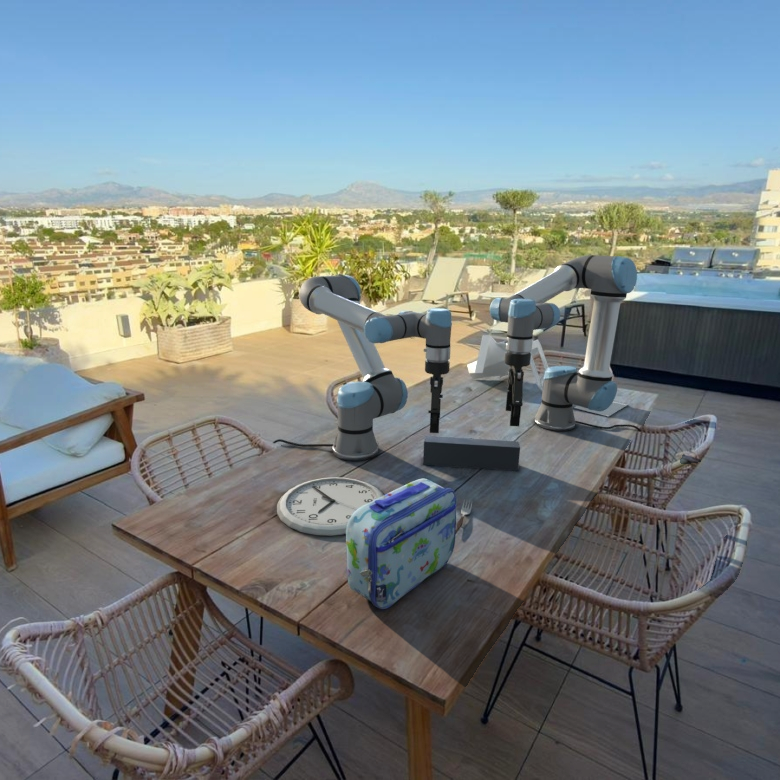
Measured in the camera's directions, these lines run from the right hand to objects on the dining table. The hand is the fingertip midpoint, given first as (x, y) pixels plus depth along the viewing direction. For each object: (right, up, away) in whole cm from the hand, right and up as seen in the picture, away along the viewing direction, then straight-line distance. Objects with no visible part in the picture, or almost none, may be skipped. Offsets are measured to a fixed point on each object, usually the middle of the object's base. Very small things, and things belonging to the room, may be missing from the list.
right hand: (512, 418), depth 163 cm
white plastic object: (+19, +11, +91) cm, 94 cm away
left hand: (-24, -2, +4) cm, 24 cm away
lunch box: (-35, -32, -50) cm, 69 cm away
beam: (-12, -15, +6) cm, 21 cm away
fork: (-19, -25, -27) cm, 42 cm away
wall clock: (-54, -23, -20) cm, 62 cm away
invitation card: (+53, +1, +64) cm, 83 cm away
